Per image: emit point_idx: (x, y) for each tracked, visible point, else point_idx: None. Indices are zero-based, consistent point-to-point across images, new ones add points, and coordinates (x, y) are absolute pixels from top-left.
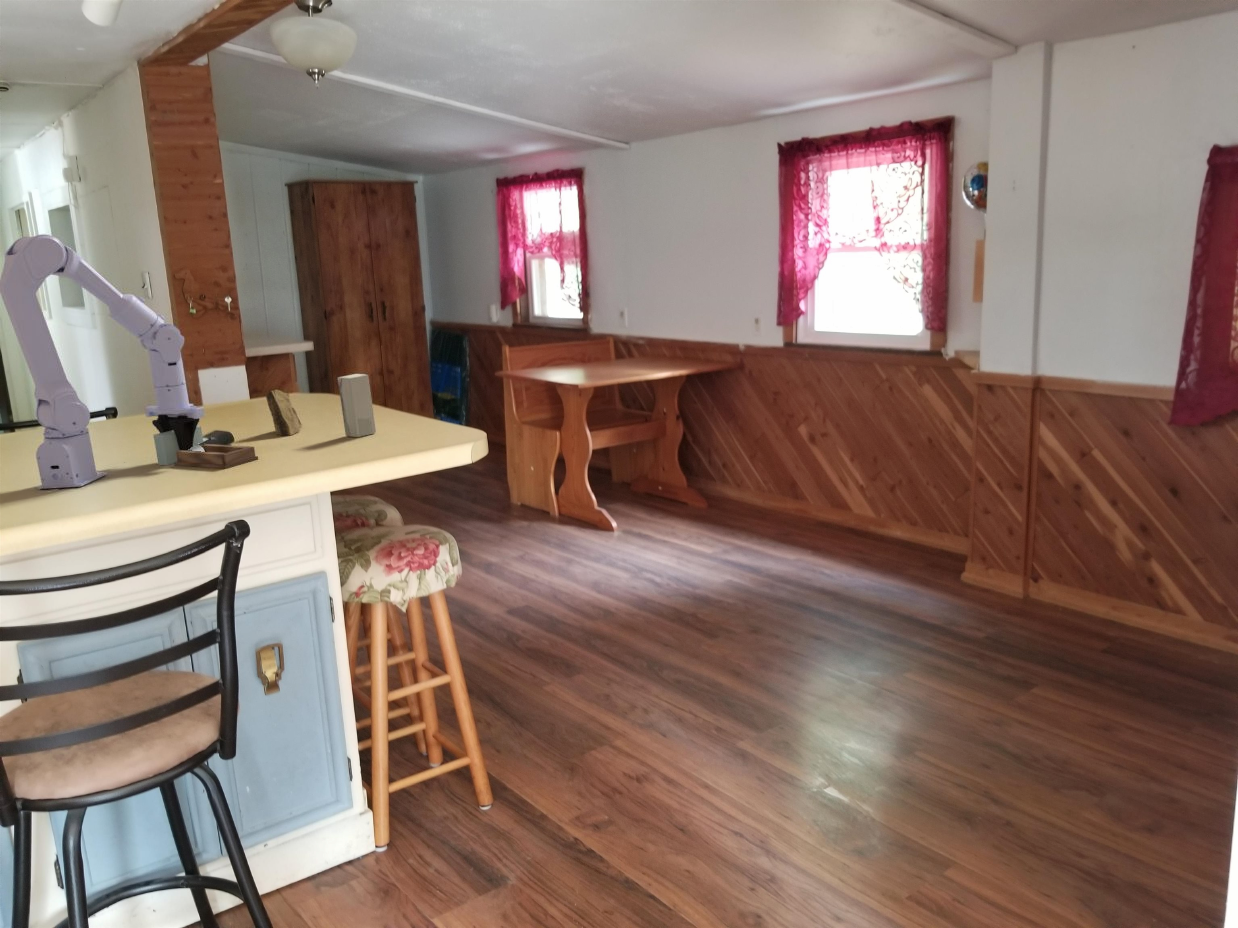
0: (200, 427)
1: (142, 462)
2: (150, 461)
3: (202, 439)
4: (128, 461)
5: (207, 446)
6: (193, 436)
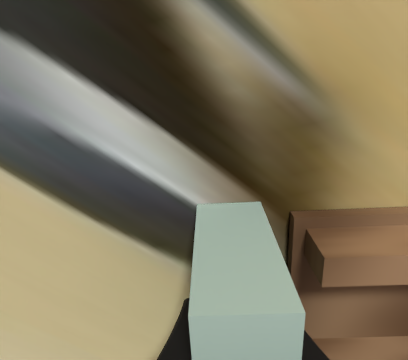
0: (303, 311)
1: (92, 353)
2: (107, 336)
3: (278, 249)
4: (11, 356)
5: (374, 282)
6: (325, 357)
